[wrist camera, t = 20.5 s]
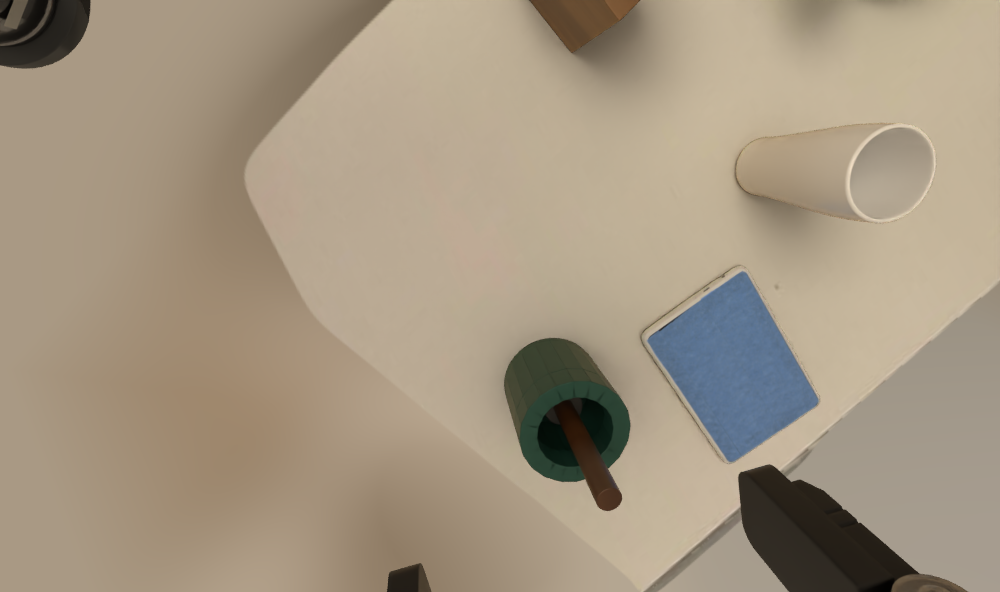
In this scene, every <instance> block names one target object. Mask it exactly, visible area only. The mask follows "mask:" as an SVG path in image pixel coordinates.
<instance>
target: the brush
mask: <svg viewBox="0 0 1000 592" xmlns="http://www.w3.org/2000/svg"><path fill="white" fill-rule="evenodd" d="M582 407H583V404H582V400H581V398H571V399H568V400H564V401H562V402H560V403H558V404H557V405H555V406H553V407H552V408H551V409H550V410H549V411H548V412H547V413H546V414H545V415H546V417H547V419H548V420H549V421H551V422H552V423H554V424H558V425H561V427H562V429H563V431H564V433H565V435H566V438H567V440H568V442H569V444H570V446H571V449H572V451H573V453H574V455H575V457H576V460H577V462H578V464H579V466H580V468H581V471H582V473H583V475H584V477H585V479H586V482H587V484H588V486H589V488H590V490H591V493H592V495H593V497H594V499H595V501H596V504H597V506H598V507H599V508H600V509H602V510H605V511H610V510H613V509H615V508H617V507H618V506H619V505H620V503H621V501H622V494H621V492H620V490H619V489H618V487H617V485H616V483H615V481H614V479H613V477H612V476H611V474H610V472H609V470H608V468H607V466H606V464H605V463H604V461H603V459H602V457H601V455H600V453H599V451H598V450H597V448H596V446H595V444H594V442H593V440H592V439H591V437H590V435H589V433H588V431H587V429H586V427H585V426H584V424H583V422H582V420H581V418H580V416H579V415H580V414H581V411H582Z"/></svg>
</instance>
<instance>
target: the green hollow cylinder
mask: <svg viewBox="0 0 1000 592" xmlns="http://www.w3.org/2000/svg"><path fill="white" fill-rule="evenodd" d="M504 387H505V394H506V397H507V401H508V405H509V408H510V412H511V415H512V419H513V422H514V426H515V429H516V432H517V436H518V439H519V443H520V446H521V450H522V453H523V456H524V457H525V459H526V460H527V462H528V463H529V464H530V466H531V467H532V468H533V469H534V470H536V471H537V472H539V473H540V474H541V475H543V476H544V477H547V478H550V479H553V480H557V481H561V482H577V481H581V480H584V479H585V477H584V475H583V473H582V471H581V468H580V466H579V464H578V462H577V460H576V457H575V455H574V453H573V451H572V449H571V446H570V444H569V442H568V440H567V438H566V435H565V433H564V431H563V429H562V427H561V425H558V424H554V423H552V422H551V421H549V420H548V419H547V417H546V415H545V414H546V413H547V412H548V411H549V410H550V409H551V408H552V407H553V406H555V405H557V404H558V403H560V402H562V401H564V400H568V399H571V398H581V400H582V404H583V407H582V411H581V414H580V415H579V416H580V418H581V420H582V422H583V424H584V426H585V427H586V429H587V431H588V433H589V435H590V437H591V439H592V440H593V442H594V444H595V446H596V448H597V450H598V451H599V453H600V455H601V457H602V459H603V461H604V463H605V464H606V466H607V468H609V467H610V466H611V465H612V464H613V463H614V462H615V461H616V460H617V459H618V458H619V457H620V455H621V453H622V452H623V450H624V448H625V446H626V444H627V441H628V438H629V432H630V419H629V414H628V410H627V408H626V406H625V405H624V403H623V401H622V400H621V398H620V396H619V395H618V394H617V392H616V391H615V390H614V388H613V387H612V386H611V384H610V383H609V382H608V380H607V379H606V378H605V376H604V375H603V374H602V372H601V371H600V369H599V368H598V367H597V365H596V364H595V363H594V361H593V360H592V359H591V357H590V356H589V355H588V354H587V353H586V352H585V351H584V350H583V349H582V348H581V347H580V346H578V345H577V344H575V343H573V342H571V341H568V340H565V339H559V338H549V339H543V340H539V341H536V342H533V343H531V344H529V345H528V346H526V347H524V348H523V349H522V350H521V351H519V352H518V354H517V355H516V356H515V357H514V358H513V360H512V361H511V363H510V364H509V366H508V369H507V371H506V375H505V381H504Z"/></svg>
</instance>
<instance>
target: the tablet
mask: <svg viewBox="0 0 1000 592" xmlns="http://www.w3.org/2000/svg"><path fill="white" fill-rule="evenodd" d="M641 340H642V343H643V344H644V346H645V347H646V349H647V350H648V352H649V353H650V355H651V356H652V358H653V359H654V360H655V362H656V363H657V365H658V366H659V368H660V369H661V371H662V372H663V374H664V375H665V377H666V378H667V380H668V381H669V383H670V384H671V386H672V387H673V388H674V390H675V391H676V393H677V394H678V396H679V397H680V399H681V400H682V402H683V403H684V405H685V406H686V408H687V409H688V411H689V412H690V414H691V415H692V417H693V418H694V420H695V421H696V422H697V424H698V425H699V427H700V428H701V430H702V431H703V433H704V434H705V436H706V437H707V439H708V440H709V442H710V443H711V445H712V446H713V447H714V449H715V450H716V452H717V453H718V455H719V456H720V458H721V459H722V461H724V462H725V463H728V464H732V463H734V462H736V461H738V460H739V459H740V458H742V457H743V456H745V455H746V454H748V453H749V452H751V451H752V450H754V449H755V448H757V447H758V446H760V445H761V444H762V443H764V442H765V441H767V440H768V439H770V438H771V437H773V436H774V435H776V434H777V433H779V432H780V431H782V430H783V429H785V428H786V427H788V426H789V425H790V424H792V423H793V422H795V421H796V420H798V419H799V418H801V417H802V416H804V415H805V414H807V413H808V412H810V411H811V410H813V409H814V408H816V407H817V406H818V405H819V403H820V396H819V394H818V393H817V391H816V389H815V387H814V385H813V384H812V382H811V380H810V378H809V377H808V375H807V373H806V371H805V369H804V368H803V366H802V364H801V362H800V361H799V359H798V357H797V355H796V353H795V352H794V350H793V348H792V346H791V344H790V343H789V341H788V339H787V338H786V336H785V334H784V332H783V330H782V329H781V327H780V325H779V323H778V322H777V320H776V318H775V316H774V315H773V313H772V310H771V309H770V307H769V305H768V304H767V302H766V300H765V298H764V296H763V295H762V294H761V292H760V290H759V288H758V286H757V285H756V283H755V281H754V280H753V278H752V276H751V274H750V272H749V271H748V270H747V269H746V268H745V267H743V266H737V267H734V268H733V269H731V270H729V271H728V272H726V273H725V274H723V277H719V278H717V279H716V280H714V281H713V282H711V283H710V284H709V285H707V286H706V287H704V288H703V289H701V290H700V291H698V292H697V293H695V294H694V295H693V296H691V297H690V298H688V299H687V300H686V301H684V302H683V303H681V304H680V305H679V306H677V307H676V308H674V309H673V310H672V311H670V312H669V313H668V314H666V315H665V316H663V317H662V318H661V319H659V320H658V321H657V322H655V323H654V324H653V325H651V326H650V327H649V328H647V329H646V330H645V331H644V332H643V334H642V336H641Z"/></svg>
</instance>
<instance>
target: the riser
mask: <svg viewBox="0 0 1000 592" xmlns="http://www.w3.org/2000/svg"><path fill="white" fill-rule="evenodd" d="M530 1H531V3H532V4H533V5H534V6H535V8H536V9H537V10H538V11H539V13H540V14H541V15H542V16H543V18H544V19H545V20H546V21H547V23H548V24H549V25H550V26H551V28H552V29H553V30H554V31H555V33H556V34H557V35H558V36H559V38H560V39H561V40H562V41H563V43H564V44H565V45H566V47H567V48H568V49H569V50H570V52H571V53H573V52H574V51H576V50H577V49H579V48H580V47H582V46H583V45H585V44H586V43H587V42H589V41H590V40H592V39H593V38H595V37H596V36H598V35H599V34H601V33H602V32H604V31H605V30H607V29H608V28H610V27H611V26H613V25H614V24H616V23H617V22H619V21H620V20H621V19H622V18H623V17H624V16H625V15H626V14H627V13H628V12H629V11H630V10H631V9H632V8H633V7H634V6H635V5H636V4H637V3H638V2H639V1H640V0H530Z"/></svg>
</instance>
